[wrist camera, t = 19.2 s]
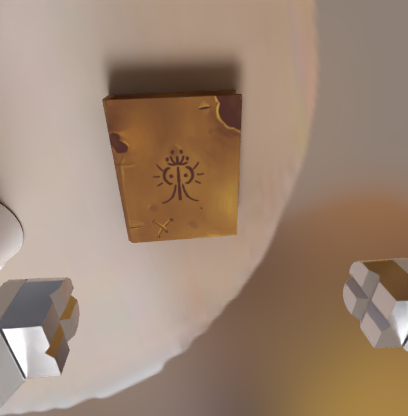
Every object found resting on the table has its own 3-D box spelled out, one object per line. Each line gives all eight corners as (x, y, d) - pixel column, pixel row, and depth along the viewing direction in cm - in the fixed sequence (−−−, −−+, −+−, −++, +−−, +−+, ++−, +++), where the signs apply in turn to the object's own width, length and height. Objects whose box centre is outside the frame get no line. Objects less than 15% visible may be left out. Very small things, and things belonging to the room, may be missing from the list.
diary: (109, 94, 42) (100, 100, 37) (234, 89, 43) (242, 94, 38) (132, 225, 53) (128, 243, 48) (230, 218, 54) (236, 235, 49)
